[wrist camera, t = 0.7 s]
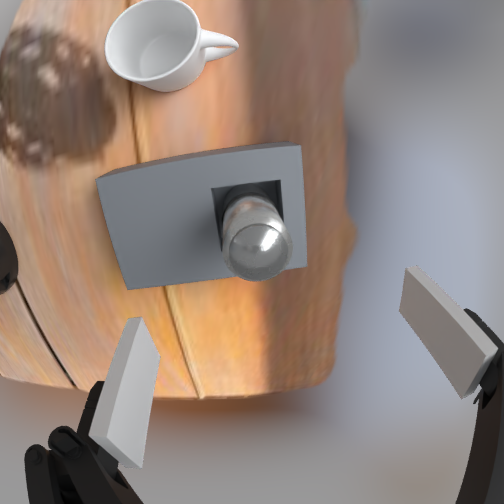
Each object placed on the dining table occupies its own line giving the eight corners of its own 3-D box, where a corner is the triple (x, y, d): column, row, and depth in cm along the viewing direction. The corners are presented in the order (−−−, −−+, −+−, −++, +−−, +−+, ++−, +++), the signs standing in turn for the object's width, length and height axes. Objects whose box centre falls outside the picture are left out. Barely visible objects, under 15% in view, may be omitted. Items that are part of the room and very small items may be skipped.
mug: (235, 91, 30) (238, 77, 20) (136, 95, 29) (100, 87, 19) (238, 27, 26) (243, -7, 17) (140, 33, 25) (109, 5, 16)
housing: (139, 266, 39) (127, 289, 33) (114, 169, 32) (95, 179, 27) (296, 245, 39) (307, 266, 34) (288, 141, 33) (300, 145, 28)
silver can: (225, 232, 35) (226, 291, 24) (218, 185, 33) (214, 223, 21) (273, 225, 36) (297, 281, 24) (269, 178, 33) (294, 213, 21)
